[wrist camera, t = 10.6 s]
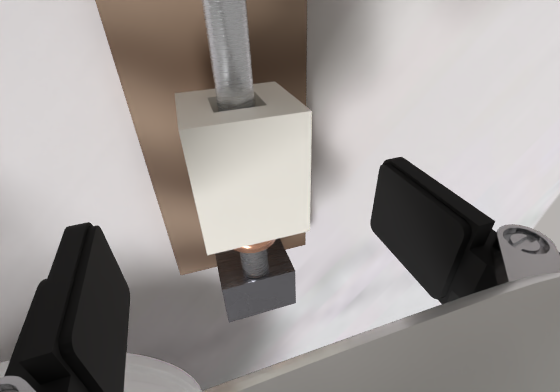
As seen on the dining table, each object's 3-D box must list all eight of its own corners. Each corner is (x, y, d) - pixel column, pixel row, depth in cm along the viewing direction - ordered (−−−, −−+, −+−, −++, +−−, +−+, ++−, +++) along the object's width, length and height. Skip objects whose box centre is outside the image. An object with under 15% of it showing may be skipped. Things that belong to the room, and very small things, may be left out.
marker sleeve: (174, 93, 15) (178, 130, 11) (275, 81, 16) (311, 110, 12) (197, 197, 18) (207, 255, 14) (279, 181, 19) (309, 231, 15)
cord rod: (67, -448, 9) (-48, -972, 4) (224, -411, 10) (283, -792, 5) (217, 261, 24) (230, 327, 19) (272, 248, 25) (297, 307, 20)
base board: (-70, -563, 8) (-110, -660, 7) (293, -458, 10) (310, -517, 9) (179, 261, 25) (180, 275, 24) (299, 233, 27) (305, 244, 26)
